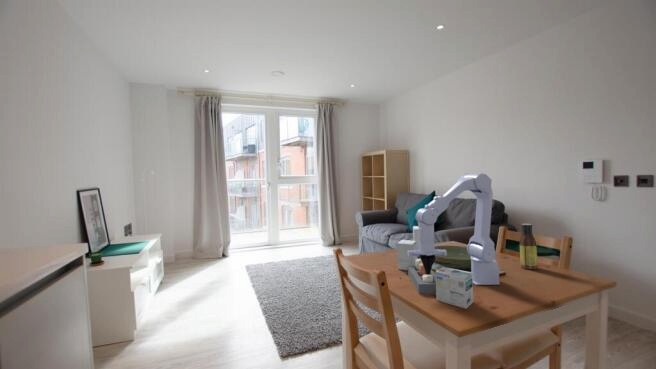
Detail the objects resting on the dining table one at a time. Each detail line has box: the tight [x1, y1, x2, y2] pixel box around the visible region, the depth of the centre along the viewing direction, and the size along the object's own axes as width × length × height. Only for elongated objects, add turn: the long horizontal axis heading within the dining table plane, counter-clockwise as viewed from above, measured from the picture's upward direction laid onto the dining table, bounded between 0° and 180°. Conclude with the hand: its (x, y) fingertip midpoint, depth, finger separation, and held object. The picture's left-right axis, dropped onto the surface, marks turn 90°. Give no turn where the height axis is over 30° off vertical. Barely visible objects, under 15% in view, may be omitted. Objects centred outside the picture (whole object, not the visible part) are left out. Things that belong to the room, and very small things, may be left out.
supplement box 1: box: [396, 239, 418, 271], centre depth 139 cm, size 7×7×13 cm
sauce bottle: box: [519, 223, 538, 270], centre depth 131 cm, size 7×6×20 cm
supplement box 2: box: [412, 225, 420, 258], centre depth 158 cm, size 9×9×15 cm
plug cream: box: [423, 275, 433, 282], centre depth 114 cm, size 4×4×5 cm
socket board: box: [407, 266, 436, 295], centre depth 120 cm, size 9×21×4 cm, turn 176°
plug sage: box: [416, 258, 422, 271], centre depth 126 cm, size 4×4×5 cm
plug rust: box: [419, 263, 426, 276], centre depth 120 cm, size 4×4×5 cm
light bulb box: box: [434, 266, 474, 309], centre depth 102 cm, size 11×7×11 cm, turn 45°
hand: (427, 273), depth 114 cm, fingers closed
